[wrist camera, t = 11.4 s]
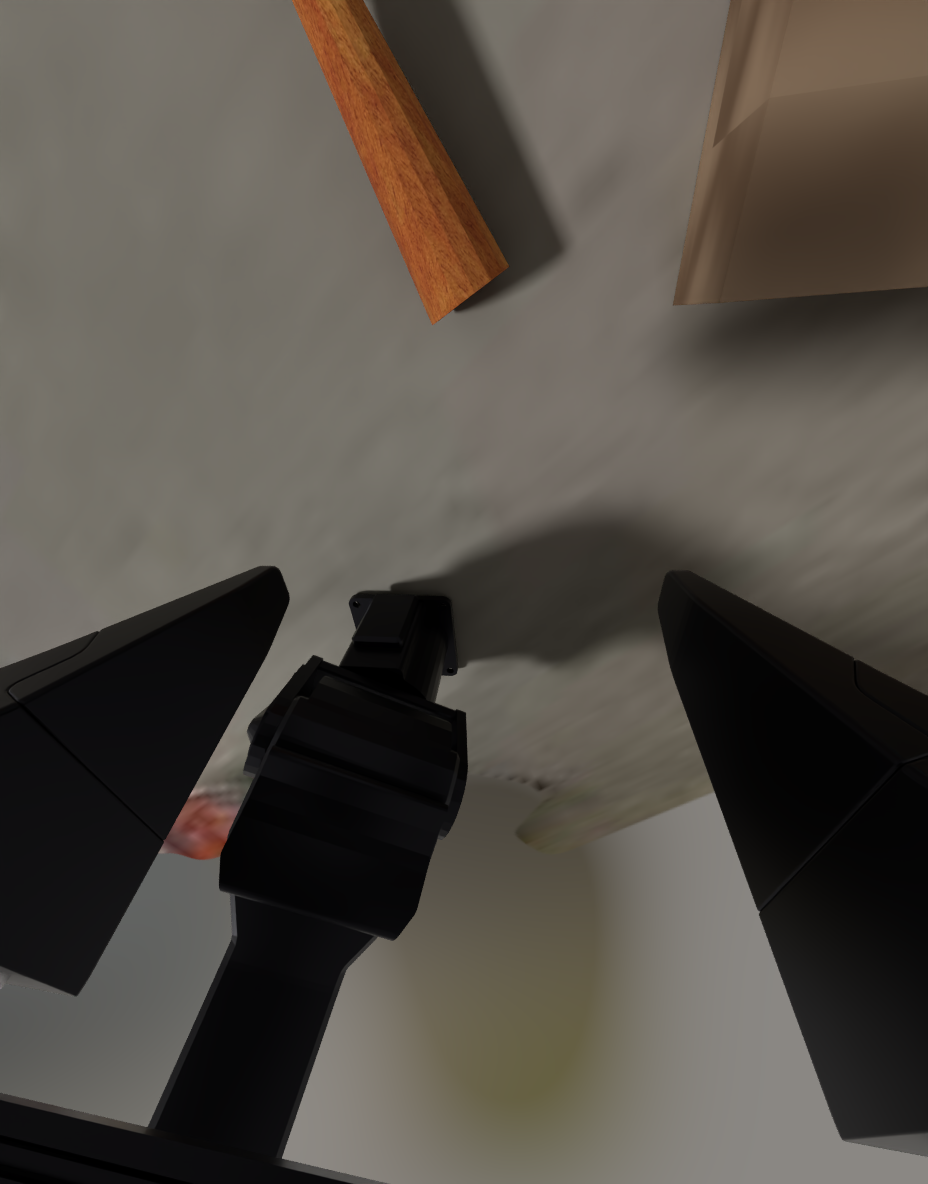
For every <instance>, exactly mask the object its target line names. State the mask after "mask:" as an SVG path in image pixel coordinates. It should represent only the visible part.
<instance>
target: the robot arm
mask: <svg viewBox="0 0 928 1184" xmlns="http://www.w3.org/2000/svg"><path fill="white" fill-rule="evenodd" d="M289 600H290V597H289V592H288V590H287V587H286V584H285V582H284V579H283V576H282V574H281V571H280V570H279V569H278V568H277V567H275V566H259V567H256V568H253V569H251V570H248V571H246V572H243V573H241V574H238V575H236V576H233V577H231V578H229V579H226V580H224V581H221V582H219V583H216V584H214V585H211V586H209V587H206V588H204V589H201V590H199V591H196V592H194V593H191V594H189V595H186V596H184V597H181V598H179V599H176V600H174V601H171V602H169V603H166V604H164V605H161V606H159V607H156V608H154V609H151V610H149V611H146V612H144V613H141V614H139V615H136V616H134V617H131V618H129V619H126V620H124V621H121V622H119V623H116V624H114V625H111V626H109V627H106V628H104V629H102V630H101V631H100V632H99V631H96V632H94V633H91V634H89V635H86V636H84V637H81V638H79V639H76V640H74V641H71V642H68V643H66V644H63V645H61V646H58V647H56V648H53V649H51V650H48V651H45V652H43V653H40V654H37V655H35V656H32V657H29V658H27V659H24V660H21V661H19V662H16V663H13V664H11V665H8V666H5V667H2V668H0V990H1V988H2V987H3V986H4V984H10V985H16V986H21V987H26V988H32V989H37V990H42V991H47V992H53V993H58V994H64V995H69V996H74V997H76V996H77V995H78V994H79V993H80V991H81V990H82V988H83V987H84V985H85V984H86V982H87V981H88V979H89V977H90V975H91V974H92V972H93V970H94V968H95V966H96V965H97V963H98V961H99V959H100V957H101V956H102V954H103V952H104V950H105V948H106V946H107V945H108V943H109V941H110V939H111V937H112V936H113V934H114V932H115V930H116V928H117V926H118V925H119V923H120V921H121V919H122V917H123V916H124V914H125V912H126V910H127V908H128V907H129V905H130V903H131V901H132V899H133V897H134V896H135V894H136V892H137V890H138V888H139V887H140V885H141V883H142V881H143V879H144V878H145V876H146V874H147V872H148V870H149V869H150V866H151V865H152V863H153V861H154V859H155V858H156V856H157V854H158V852H159V850H160V849H161V847H162V845H163V843H164V841H163V840H165V839H166V837H167V835H168V834H169V832H170V830H171V828H172V826H173V824H174V823H175V821H176V819H177V817H178V815H179V814H180V812H181V810H182V808H183V806H184V805H185V803H186V801H187V799H188V797H189V796H190V794H191V792H192V790H193V788H194V786H195V785H196V783H197V781H198V779H199V777H200V776H201V774H202V772H203V770H204V768H205V767H206V765H207V763H208V761H209V759H210V758H211V756H212V754H213V752H214V750H215V748H216V747H217V745H218V743H219V741H220V739H221V738H222V736H223V734H224V732H225V730H226V729H227V727H228V725H229V723H230V721H231V720H232V718H233V716H234V714H235V712H236V710H237V709H238V707H239V705H240V703H241V701H242V700H243V698H244V696H245V694H246V692H247V691H248V689H249V687H250V685H251V683H252V682H253V680H254V678H255V676H256V674H257V672H258V671H259V669H260V667H261V665H262V663H263V662H264V660H265V658H266V656H267V654H268V652H269V650H270V647H271V645H272V643H273V640H274V638H275V636H276V633H277V631H278V628H279V626H280V624H281V621H282V619H283V616H284V614H285V612H286V609H287V607H288V604H289ZM355 601H357V602H359V603H360V604H357V603H356V602H355ZM441 603H443V604H445V605H446V606H442V605H440V604H441ZM349 606H350V609H351V613H352V616H353V620H354V623H355V627H356V631H355V633H354V635H353V637H352V642H351V644H350V646H349V648H348V650H347V651H346V653H345V655H344V657H343V659H342V661H341V663H340V665H339V666H336V665H334V664H331V663H328V662H326V661H323V658H321V657H318V656H315V655H313V656H312V657H311V658H310V660H309V661H308V662H307V663H306V665H304V664H303V665H302V666H301V667H300V668H299V669H298V671H297V672H296V673H294V675H293V676H292V678H291V679H290V681H289V682H288V683H287V684H286V686H285V687H284V688H283V689H282V690H281V692H280V693H279V694H278V695H277V697H276V698H275V699H274V700H273V702H272V703H271V704H270V705H269V706H268V707H267V708H265V709H264V710H263V711H262V712H261V713H259V714H258V715H257V716H256V717H255V718H254V719H253V720H252V721H251V723H250V725H249V727H248V729H247V734H248V737H249V740H250V743H251V744H250V747H249V751H248V757H247V759H246V762H245V766H244V770H243V774H244V775H246V776H249V777H252V778H254V779H253V781H252V783H251V786H250V788H249V790H248V792H247V794H246V796H245V798H244V801H243V803H242V805H241V807H240V809H239V811H238V813H237V816H236V818H235V820H234V822H233V824H232V826H231V828H230V831H229V834H228V838H227V842H226V843H225V845H224V847H223V849H222V852H221V856H220V874H219V889H220V891H223V892H226V893H229V894H230V902H231V903H230V905H231V922H232V939H231V942H230V944H229V946H228V949H227V951H226V953H225V956H224V958H223V960H222V962H221V964H220V967H219V969H218V971H217V973H216V976H215V978H214V980H213V982H212V984H211V987H210V989H209V991H208V993H207V996H206V998H205V1000H204V1002H203V1005H202V1007H201V1009H200V1011H199V1014H198V1016H197V1018H196V1020H195V1022H194V1025H193V1027H192V1029H191V1032H190V1034H189V1036H188V1038H187V1040H186V1043H185V1045H184V1047H183V1049H182V1052H181V1054H180V1056H179V1058H178V1060H177V1063H176V1065H175V1067H174V1070H173V1072H172V1074H171V1076H170V1079H169V1081H168V1083H167V1085H166V1087H165V1090H164V1092H163V1094H162V1096H161V1098H160V1101H159V1103H158V1105H157V1108H156V1110H155V1112H154V1114H153V1116H152V1119H151V1121H150V1123H149V1125H148V1127H144V1126H139V1125H135V1124H131V1123H127V1122H123V1121H118V1120H114V1119H110V1118H105V1117H101V1116H97V1115H92V1114H89V1113H84V1112H80V1111H76V1110H72V1109H67V1108H63V1107H58V1106H54V1105H50V1104H46V1103H42V1102H37V1101H33V1100H29V1099H25V1098H20V1097H16V1096H12V1095H8V1094H3V1093H0V1184H387V1183H383V1182H379V1181H375V1180H370V1179H366V1178H362V1177H358V1176H353V1175H349V1174H345V1173H340V1172H336V1171H332V1170H328V1169H323V1168H319V1167H314V1166H310V1165H306V1164H302V1163H298V1162H294V1161H289V1160H285V1159H282V1156H283V1153H284V1150H285V1146H286V1144H287V1141H288V1138H289V1135H290V1132H291V1129H292V1126H293V1123H294V1120H295V1118H296V1115H297V1112H298V1109H299V1106H300V1103H301V1100H302V1097H303V1094H304V1091H305V1088H306V1085H307V1082H308V1079H309V1076H310V1073H311V1071H312V1067H313V1065H314V1062H315V1059H316V1056H317V1053H318V1050H319V1047H320V1044H321V1041H322V1038H323V1035H324V1032H325V1030H326V1027H327V1024H328V1021H329V1018H330V1015H331V1012H332V1009H333V1006H334V1003H335V1000H336V997H337V995H338V992H339V989H340V986H341V983H342V980H343V978H344V975H345V972H346V970H347V969H348V967H349V966H350V965H351V964H352V963H353V962H354V961H355V960H356V959H357V958H358V957H359V956H360V955H361V954H362V953H363V952H364V951H365V950H366V949H367V948H368V947H369V946H370V945H371V944H372V943H373V941H374V940H375V939H376V938H377V937H381V938H384V939H388V940H391V941H393V940H395V939H396V938H397V937H398V936H399V935H400V933H401V932H402V931H403V929H404V928H405V927H406V925H407V924H408V923H409V921H410V920H411V919H412V917H413V916H414V915H415V913H416V910H417V908H418V904H419V900H420V896H421V892H422V888H423V885H424V881H425V877H426V873H427V869H428V866H429V862H430V859H431V856H432V853H433V851H434V847H435V844H436V842H437V839H440V840H442V839H443V838H445V837H446V835H447V834H448V833H449V831H450V829H451V827H452V825H453V823H454V821H455V819H456V816H457V814H458V811H459V808H460V805H461V802H462V798H463V794H464V790H465V785H466V780H467V772H468V758H467V730H466V712H463V711H460V710H458V709H456V710H453V709H450V708H447V707H445V706H442V705H439V704H437V703H435V701H436V696H437V692H438V688H439V684H440V679H441V675H445V676H453V675H456V674H457V670H458V660H457V651H456V641H455V631H454V621H453V612H452V603H451V600H450V599H449V598H447V597H445V596H415V595H388V594H377V595H360V594H357V595H353V596H352V598H351V599H350V601H349ZM658 614H659V619H660V623H661V628H662V633H663V637H664V642H665V646H666V651H667V656H668V660H669V664H670V668H671V672H672V675H673V678H674V681H675V684H676V686H677V689H678V692H679V695H680V697H681V700H682V703H683V706H684V709H685V711H686V714H687V717H688V720H689V722H690V725H691V728H692V731H693V733H694V736H695V739H696V742H697V744H698V747H699V750H700V753H701V755H702V758H703V761H704V764H705V766H706V769H707V772H708V775H709V778H710V780H711V783H712V786H713V789H714V791H715V794H716V797H717V799H718V802H719V805H720V808H721V811H722V813H723V816H724V819H725V822H726V824H727V827H728V830H729V833H730V835H731V838H732V841H733V843H734V846H735V849H736V852H737V855H738V858H739V860H740V863H741V866H742V869H743V871H744V874H745V877H746V880H747V882H748V885H749V888H750V891H751V893H752V896H753V899H754V902H755V904H756V907H757V909H758V911H760V913H759V916H760V919H761V921H762V925H763V927H764V930H765V933H766V936H767V938H768V941H769V944H770V946H771V949H772V952H773V955H774V958H775V961H776V963H777V966H778V969H779V972H780V974H781V977H782V980H783V983H784V985H785V988H786V991H787V994H788V996H789V999H790V1002H791V1005H792V1007H793V1010H794V1013H795V1016H796V1018H797V1021H798V1024H799V1027H800V1029H801V1032H802V1035H803V1037H804V1041H805V1043H806V1046H807V1049H808V1052H809V1054H810V1057H811V1060H812V1063H813V1065H814V1068H815V1071H816V1073H817V1076H818V1079H819V1082H820V1085H821V1088H822V1090H823V1093H824V1096H825V1099H826V1101H827V1104H828V1107H829V1110H830V1112H831V1115H832V1117H833V1120H834V1123H835V1124H836V1127H837V1130H838V1132H839V1134H840V1136H841V1138H842V1140H844V1141H846V1142H852V1143H858V1144H862V1145H868V1146H873V1147H878V1148H884V1149H889V1150H894V1151H900V1152H905V1153H910V1154H916V1155H921V1156H927V1157H928V696H927V695H925V694H923V693H921V692H919V691H917V690H915V689H913V688H911V687H909V686H907V685H905V684H904V683H902V682H900V681H898V680H896V679H894V678H892V677H890V676H888V675H886V674H884V673H882V672H880V671H878V670H876V669H874V668H873V667H871V666H869V665H867V664H865V663H863V662H861V661H859V660H855V661H854V658H853V657H852V656H850V655H848V654H846V653H844V652H842V651H840V650H838V649H836V648H835V647H833V646H831V645H829V644H827V643H825V642H823V641H821V640H819V639H818V638H816V637H814V636H812V635H810V634H808V633H806V632H804V631H802V630H800V629H799V628H797V627H795V626H793V625H791V624H789V623H787V622H785V621H783V620H782V619H780V618H778V617H776V616H774V615H772V614H770V613H768V612H766V611H765V610H763V609H761V608H759V607H757V606H755V605H753V604H751V603H749V602H748V601H746V600H744V599H742V598H740V597H738V596H736V595H734V594H732V593H730V592H729V591H727V590H725V589H723V588H721V587H719V586H717V585H715V584H713V583H712V582H710V581H708V580H706V579H704V578H702V577H700V576H698V575H696V574H695V573H693V572H691V571H687V570H671V571H669V572H667V574H666V575H665V578H664V582H663V586H662V590H661V593H660V597H659V601H658ZM449 668H452V669H449Z"/></svg>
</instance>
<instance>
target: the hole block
mask: <svg viewBox="0 0 928 1184" xmlns="http://www.w3.org/2000/svg"><path fill="white" fill-rule="evenodd" d="M918 287H928V0H731V2H730V7H729V12H728V17H727V23H726V28H725V33H724V39H723V44H722V49H721V54H720V60H719V65H718V70H717V76H716V81H715V86H714V91H713V97H712V102H711V107H710V112H709V118H708V123H707V128H706V134H705V139H704V144H703V149H702V155H701V160H700V165H699V170H698V176H697V181H696V186H695V192H694V197H693V202H692V207H691V213H690V218H689V223H688V229H687V234H686V239H685V244H684V250H683V255H682V260H681V265H680V271H679V276H678V281H677V287H676V292H675V297H674V302H673V305H688V304H707V303H724V302H737V301H750V300H763V299H776V298H789V297H801V296H814V295H827V294H840V293H853V292H866V291H879V290H892V289H905V288H918Z"/></svg>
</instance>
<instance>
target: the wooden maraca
mask: <svg viewBox="0 0 928 1184" xmlns="http://www.w3.org/2000/svg"><path fill="white" fill-rule="evenodd" d="M292 1H293V4H294V6H295V8H296V11H297V13H298V15H299V18H300V20H301V22H302V25H303V27H304V29H305V31H306V34H307V36H308V38H309V41H310V43H311V45H312V48H313V50H314V52H315V55H316V57H317V59H318V62H319V64H320V66H321V68H322V71H323V73H324V75H325V78H326V80H327V82H328V85H329V87H330V89H331V92H332V94H333V96H334V99H335V101H336V103H337V106H338V108H339V110H340V112H341V115H342V117H343V119H344V122H345V124H346V126H347V129H348V131H349V133H350V136H351V138H352V140H353V143H354V145H355V147H356V149H357V152H358V154H359V156H360V159H361V161H362V163H363V166H364V168H365V170H366V173H367V175H368V177H369V180H370V182H371V184H372V186H373V189H374V191H375V193H376V196H377V198H378V200H379V203H380V205H381V207H382V210H383V212H384V214H385V217H386V219H387V221H388V224H389V226H390V228H391V230H392V233H393V235H394V237H395V240H396V242H397V244H398V247H399V249H400V251H401V254H402V256H403V258H404V261H405V263H406V265H407V267H408V270H409V272H410V274H411V277H412V279H413V281H414V284H415V286H416V288H417V291H418V293H419V295H420V298H421V300H422V302H423V305H424V307H425V309H426V311H427V314H428V316H429V318H430V321H431V323H432V325H433V324H435V323H436V322H437V321H439V320H440V319H441V318H443V317H444V316H445V315H447V314H448V313H449V312H451V311H452V310H453V309H455V308H456V307H457V306H459V305H460V304H461V303H462V302H464V301H465V300H466V299H468V298H469V297H470V296H472V295H473V294H474V293H476V292H477V291H478V290H480V289H481V288H482V287H483V286H485V285H486V284H487V283H489V282H490V281H491V280H493V279H494V278H495V277H497V276H498V275H499V274H500V273H502V272H503V271H504V270H506V269H507V268H508V267H509V265H508V263H507V261H506V260H505V258H504V256H503V254H502V252H501V251H500V249H499V247H498V245H497V243H496V241H495V240H494V238H493V236H492V234H491V232H490V230H489V229H488V227H487V225H486V223H485V221H484V220H483V218H482V216H481V214H480V212H479V210H478V209H477V207H476V205H475V203H474V201H473V200H472V198H471V196H470V194H469V192H468V190H467V189H466V187H465V185H464V183H463V181H462V180H461V178H460V176H459V174H458V172H457V170H456V169H455V167H454V165H453V163H452V161H451V159H450V158H449V156H448V154H447V152H446V150H445V149H444V147H443V145H442V143H441V141H440V139H439V138H438V136H437V134H436V132H435V130H434V129H433V127H432V125H431V123H430V121H429V119H428V118H427V116H426V114H425V112H424V110H423V109H422V107H421V105H420V103H419V101H418V99H417V98H416V96H415V94H414V92H413V90H412V88H411V87H410V85H409V83H408V81H407V79H406V78H405V76H404V74H403V72H402V70H401V68H400V67H399V65H398V63H397V61H396V59H395V58H394V56H393V54H392V52H391V50H390V48H389V47H388V45H387V43H386V41H385V39H384V38H383V36H382V34H381V32H380V30H379V28H378V27H377V25H376V23H375V21H374V19H373V17H372V16H371V14H370V12H369V10H368V8H367V7H366V5H365V3H364V1H363V0H292Z"/></svg>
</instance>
